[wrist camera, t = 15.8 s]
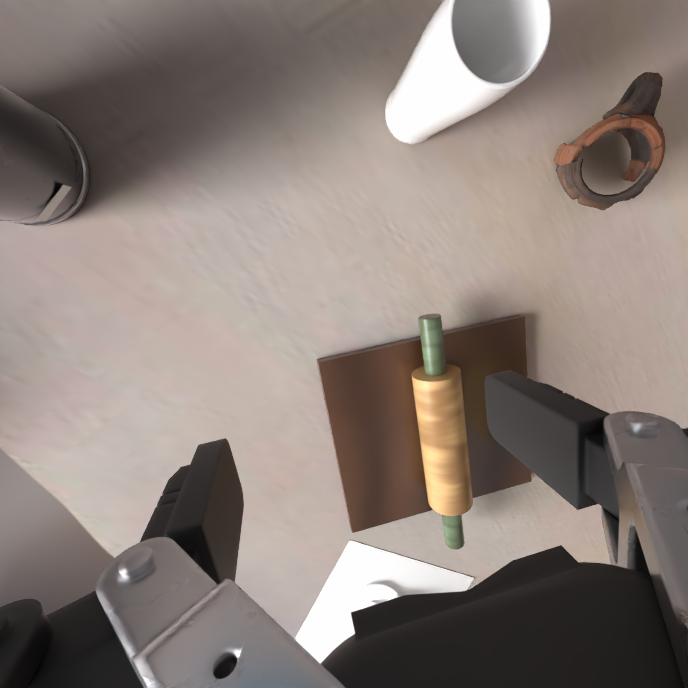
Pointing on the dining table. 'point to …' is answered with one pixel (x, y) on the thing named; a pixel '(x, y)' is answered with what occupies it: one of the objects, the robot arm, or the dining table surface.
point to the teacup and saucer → (368, 592)
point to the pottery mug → (641, 134)
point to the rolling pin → (442, 431)
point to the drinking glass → (466, 63)
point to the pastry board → (414, 419)
